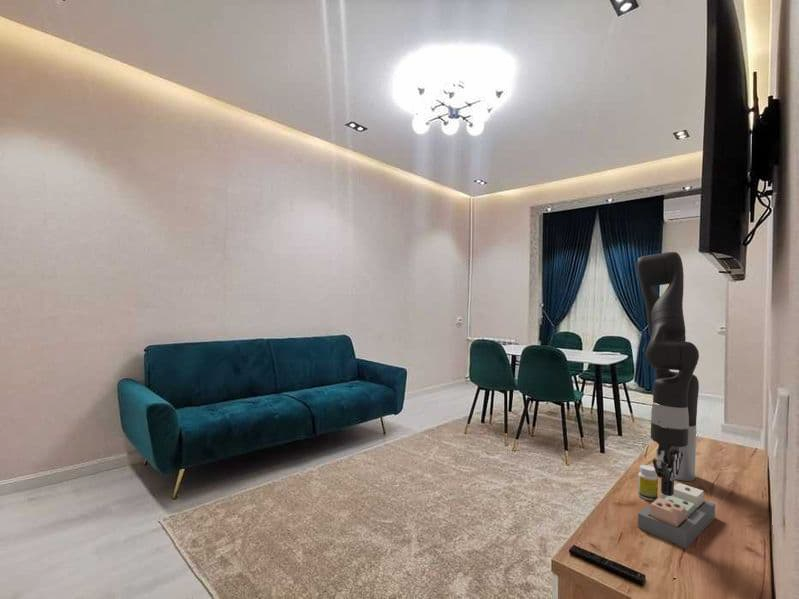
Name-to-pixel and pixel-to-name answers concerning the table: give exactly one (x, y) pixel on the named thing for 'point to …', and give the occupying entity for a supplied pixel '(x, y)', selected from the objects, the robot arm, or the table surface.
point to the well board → (685, 530)
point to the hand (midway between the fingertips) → (667, 494)
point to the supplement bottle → (647, 483)
